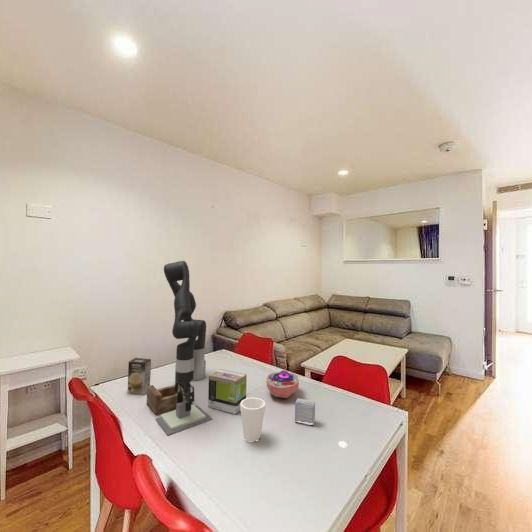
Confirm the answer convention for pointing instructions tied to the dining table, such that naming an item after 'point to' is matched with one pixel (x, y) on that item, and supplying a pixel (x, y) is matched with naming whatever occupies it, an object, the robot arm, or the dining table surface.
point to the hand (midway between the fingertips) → (183, 406)
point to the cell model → (282, 384)
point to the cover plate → (184, 420)
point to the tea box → (226, 390)
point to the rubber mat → (169, 432)
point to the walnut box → (162, 399)
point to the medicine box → (305, 410)
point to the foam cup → (252, 417)
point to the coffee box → (139, 376)
